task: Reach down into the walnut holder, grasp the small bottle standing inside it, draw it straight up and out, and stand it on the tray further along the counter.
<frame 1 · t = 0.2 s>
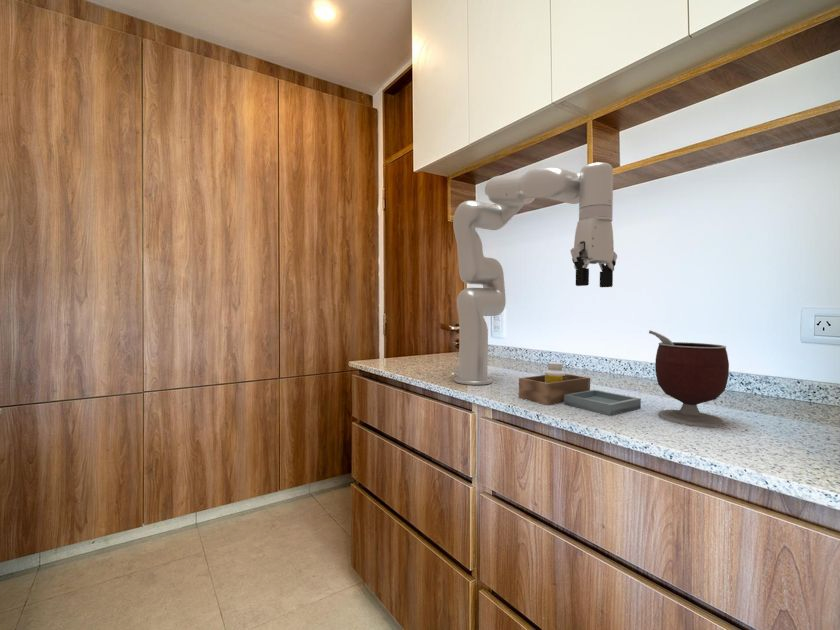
hand: (594, 286, 100), 31 cm above the worktop, tool pointing down, fingers open, 9 cm apart
tray: (601, 406, 104), on the worktop
mate gourd: (685, 419, 93), on the worktop
supplement bottle: (554, 398, 114), resting in holder
holder: (554, 397, 114), on the worktop
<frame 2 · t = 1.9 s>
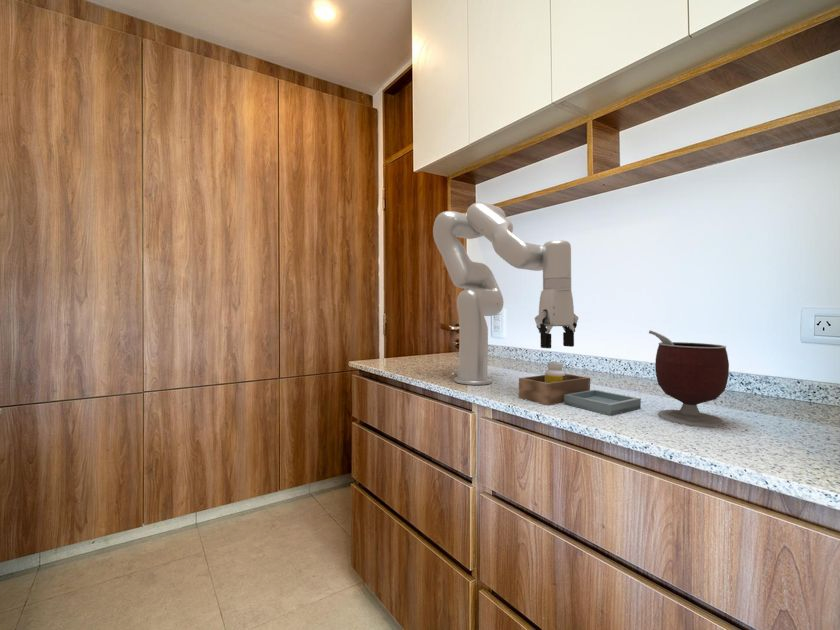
hand: (557, 347, 113), 14 cm above the worktop, tool pointing down, fingers open, 9 cm apart
nothing on the worktop moved.
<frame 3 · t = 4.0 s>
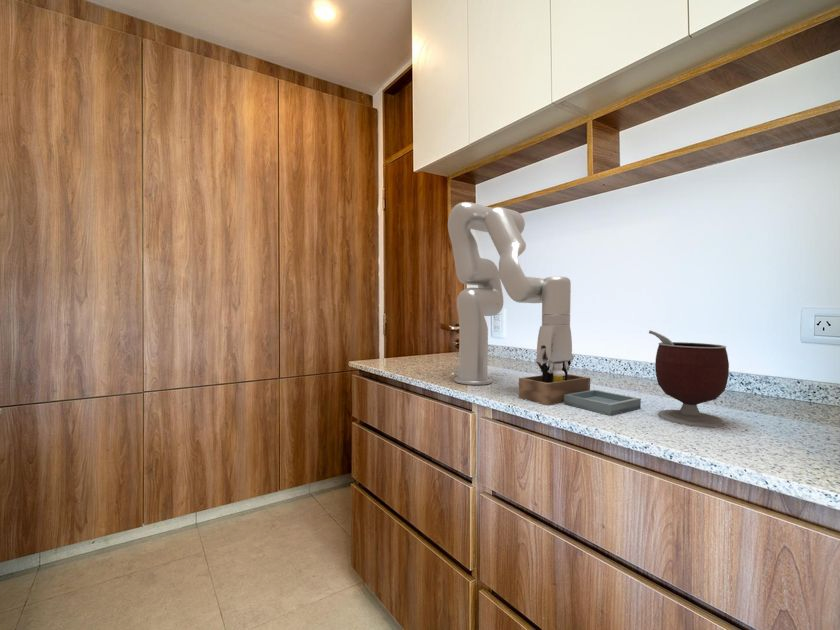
hand: (554, 385, 114), 4 cm above the worktop, tool pointing down, fingers closed on supplement bottle, 5 cm apart
supplement bottle: (554, 398, 114), resting in holder, touching gripper
everything else where it was.
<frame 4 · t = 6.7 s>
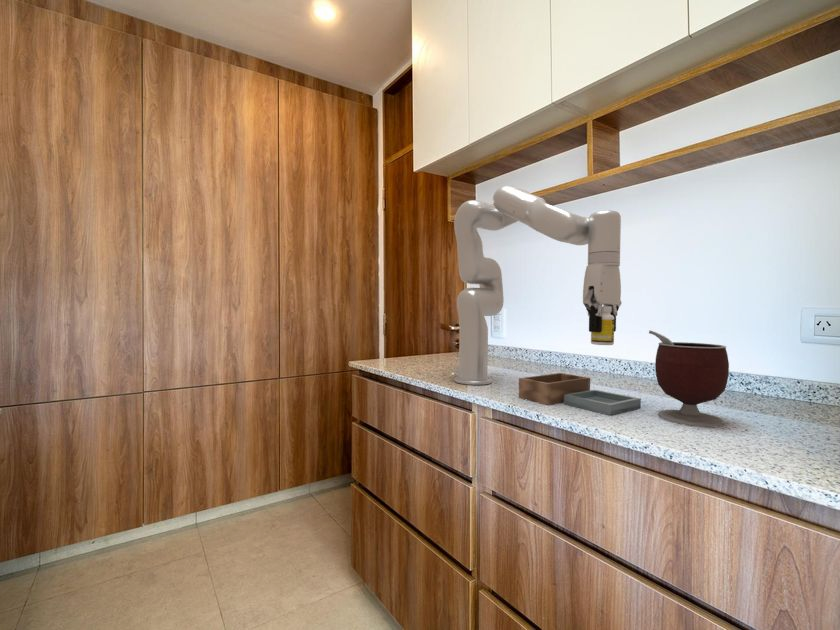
hand: (602, 331, 104), 19 cm above the worktop, tool pointing down, fingers closed on supplement bottle, 5 cm apart
supplement bottle: (602, 345, 104), point 16 cm above the worktop, touching gripper
everything else where it was.
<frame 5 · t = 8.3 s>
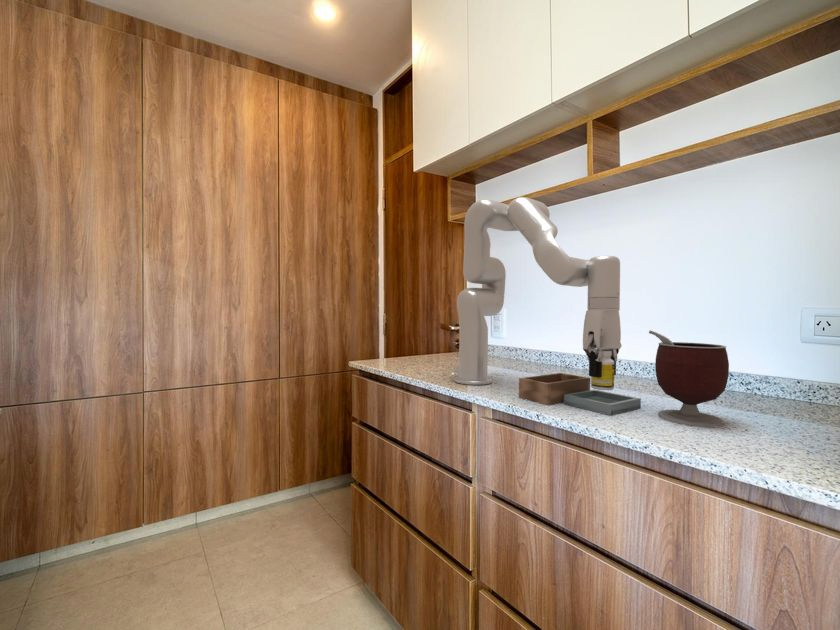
hand: (602, 375, 104), 8 cm above the worktop, tool pointing down, fingers closed on supplement bottle, 5 cm apart
supplement bottle: (602, 389, 104), point 4 cm above the worktop, touching gripper
everything else where it was.
when the fingers open (6 cm above the worktop, at t = 9.5 s): supplement bottle drops 1 cm, resting on tray.
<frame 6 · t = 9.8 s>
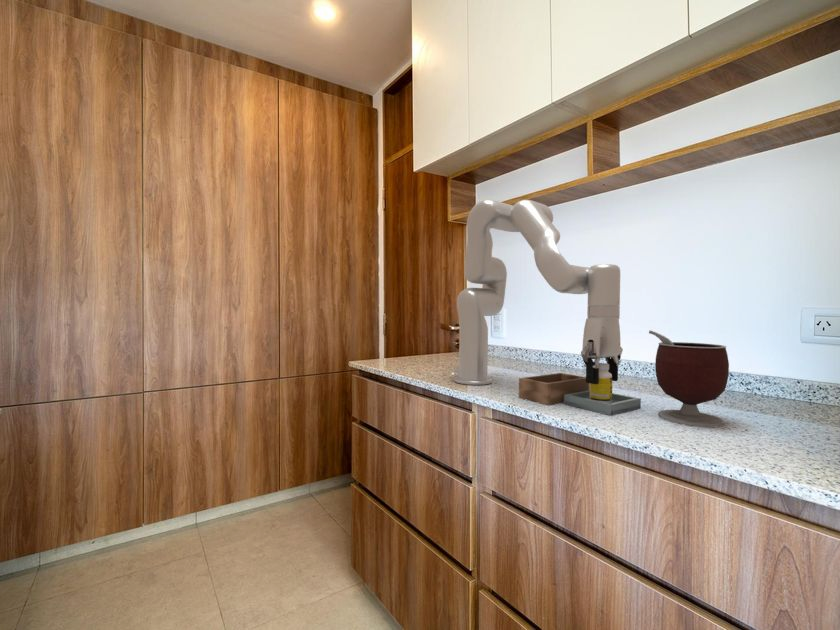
hand: (602, 381, 104), 6 cm above the worktop, tool pointing down, fingers open, 7 cm apart
supplement bottle: (600, 402, 104), point 1 cm above the worktop, touching tray
everything else where it was.
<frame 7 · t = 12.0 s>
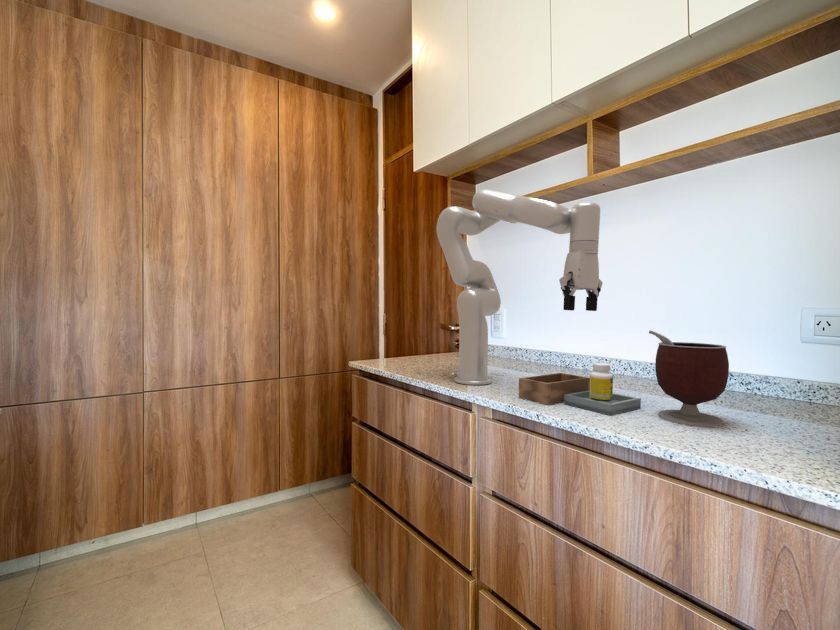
hand: (580, 310, 114), 24 cm above the worktop, tool pointing down, fingers open, 9 cm apart
nothing on the worktop moved.
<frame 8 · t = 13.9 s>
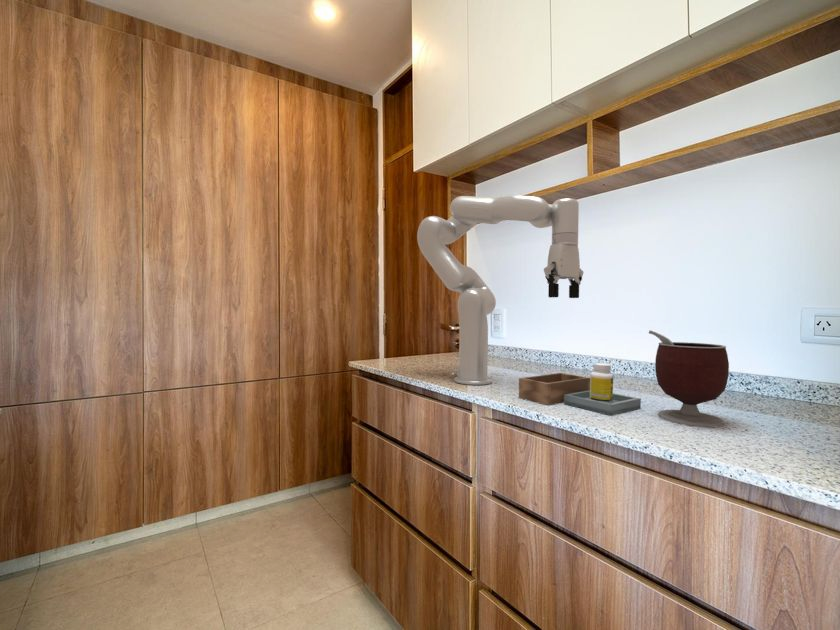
hand: (563, 297, 123), 28 cm above the worktop, tool pointing down, fingers open, 9 cm apart
nothing on the worktop moved.
at the end: supplement bottle inside the target area on the tray (0.2 cm from its centre), point 0.8 cm above the tray's base; supplement bottle tilted 0°; the gripper is holding nothing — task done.
